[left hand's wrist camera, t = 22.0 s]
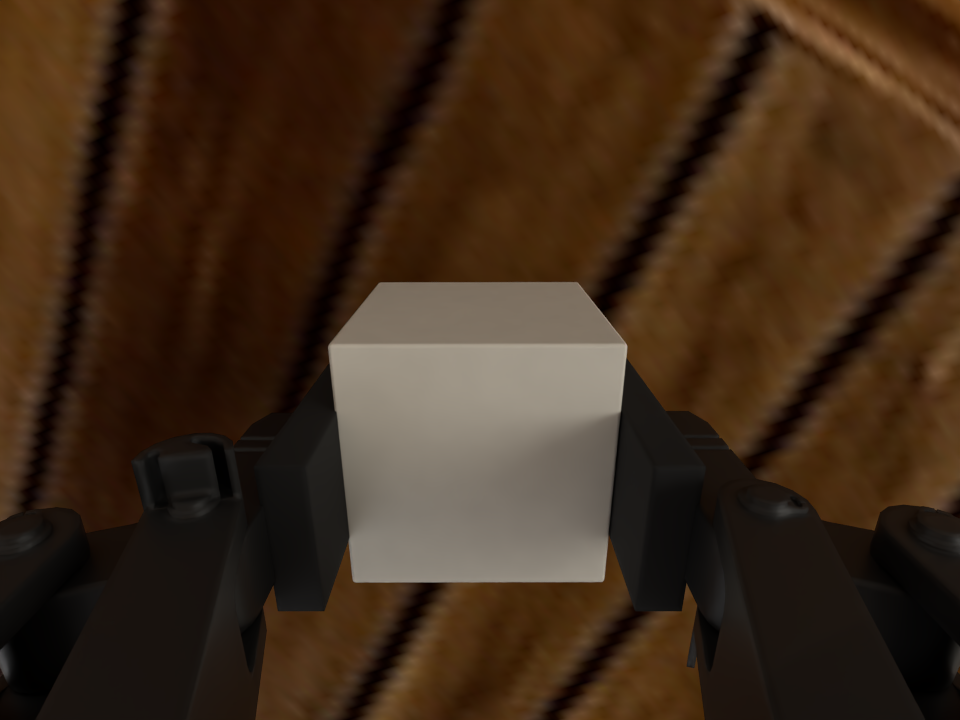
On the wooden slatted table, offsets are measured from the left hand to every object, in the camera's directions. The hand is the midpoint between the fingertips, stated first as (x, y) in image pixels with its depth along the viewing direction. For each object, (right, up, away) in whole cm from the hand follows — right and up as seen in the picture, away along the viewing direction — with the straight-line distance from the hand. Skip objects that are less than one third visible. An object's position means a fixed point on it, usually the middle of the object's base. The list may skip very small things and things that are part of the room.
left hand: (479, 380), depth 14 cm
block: (0, 0, 0) cm, 0 cm away
